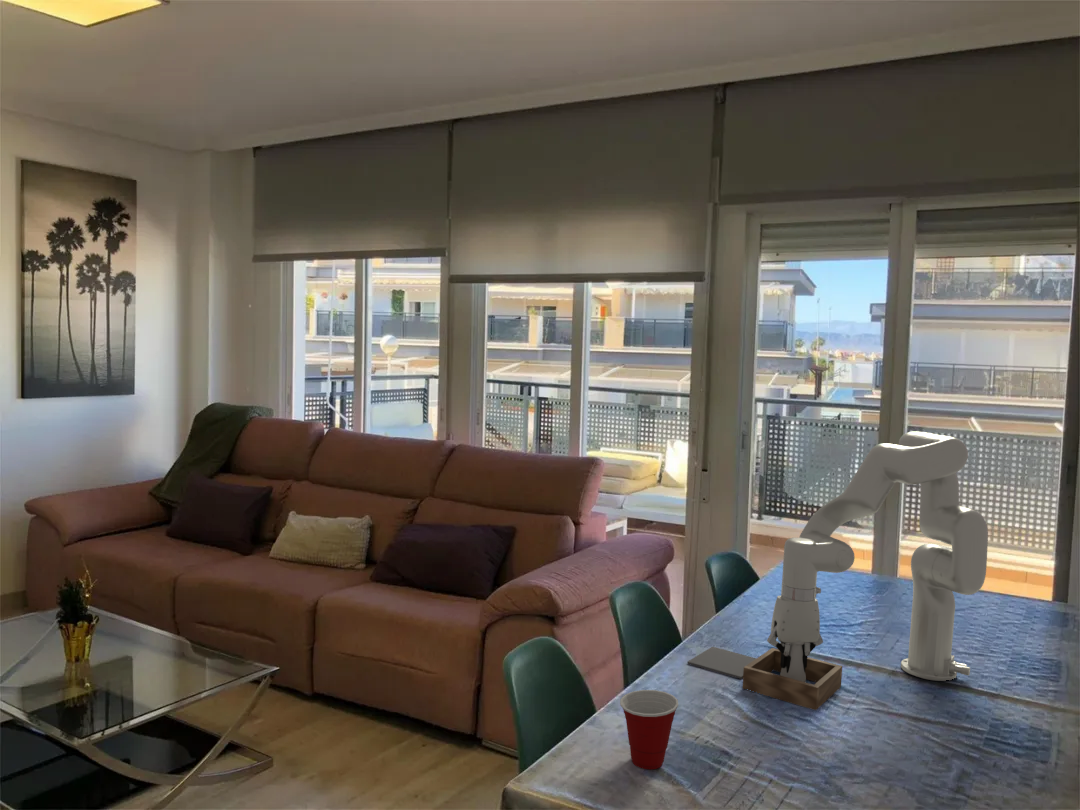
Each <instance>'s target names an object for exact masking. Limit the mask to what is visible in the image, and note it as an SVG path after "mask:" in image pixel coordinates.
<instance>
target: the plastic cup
mask: <svg viewBox="0 0 1080 810" xmlns="http://www.w3.org/2000/svg"><path fill="white" fill-rule="evenodd" d="M619 704H620V707H621V708H622V710H623V714H624V718H625V721H626V722H625V723H626V729H627V737H628V738H627V739H628V744H629V749H630V759H631V762H632V764H633V765H634V766H636V767H638V768H639V769H643V770H651V771H652V770H657V769H660V768H661V767H662V766H663V763H664V761H665V757H666V752H667V749H668V745H669V740H670V736H671V730H672V727H673V723H674V722H673V721H674V720H675V715H676V711H677V709H678V708H679V699H677V697H676V696H675V695H673V694H671V693H669V692H666V691H661V690H657V689H641V690H640V689H639V690H634V691H630V692H628V693H626V694H625V695H623V696H622V697H621V698H620V699H619Z"/></svg>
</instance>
